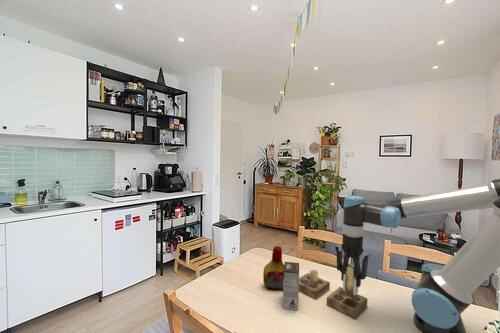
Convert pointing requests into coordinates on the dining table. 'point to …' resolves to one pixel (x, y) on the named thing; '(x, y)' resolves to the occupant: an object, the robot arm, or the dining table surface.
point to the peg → (350, 280)
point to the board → (313, 290)
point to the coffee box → (291, 285)
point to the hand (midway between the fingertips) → (350, 291)
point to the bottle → (274, 270)
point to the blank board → (347, 303)
